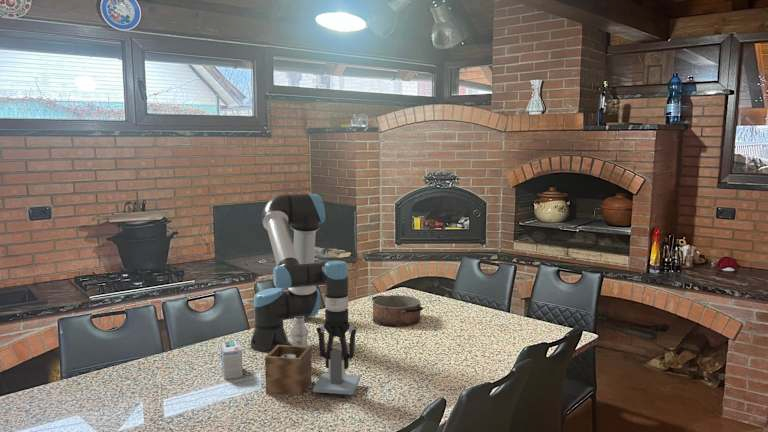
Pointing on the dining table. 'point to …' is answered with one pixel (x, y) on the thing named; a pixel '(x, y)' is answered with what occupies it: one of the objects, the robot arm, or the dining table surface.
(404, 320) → the cooking pot
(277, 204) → the robot arm
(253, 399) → the dining table surface
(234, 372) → the light bulb box
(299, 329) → the plastic bottle
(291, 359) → the crate
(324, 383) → the lid
